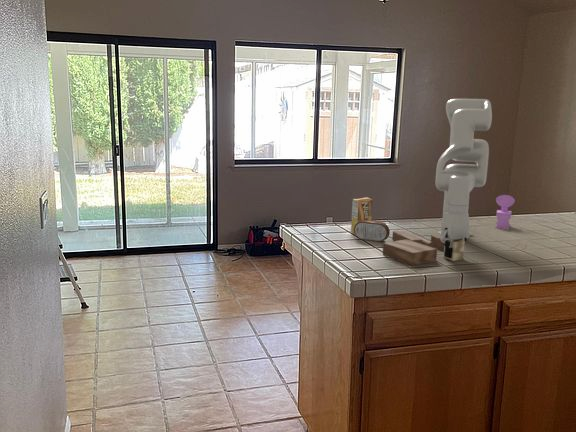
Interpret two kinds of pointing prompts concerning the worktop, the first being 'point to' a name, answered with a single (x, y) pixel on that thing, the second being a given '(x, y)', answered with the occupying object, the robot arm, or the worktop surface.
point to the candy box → (361, 211)
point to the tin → (371, 230)
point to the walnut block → (409, 252)
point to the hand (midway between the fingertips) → (453, 255)
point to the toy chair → (504, 211)
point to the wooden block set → (419, 239)
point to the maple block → (456, 250)
